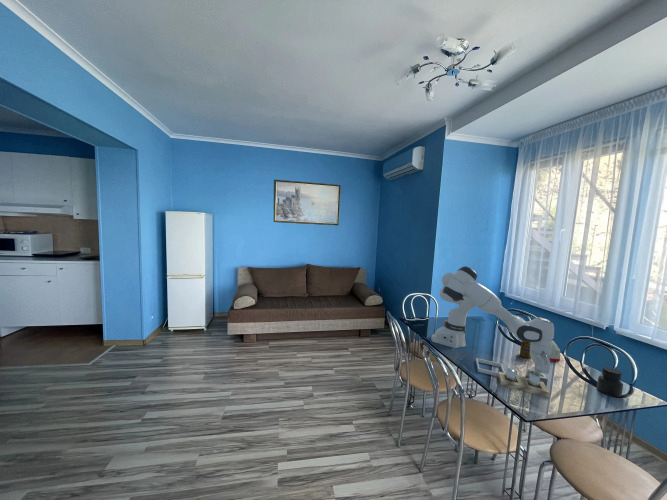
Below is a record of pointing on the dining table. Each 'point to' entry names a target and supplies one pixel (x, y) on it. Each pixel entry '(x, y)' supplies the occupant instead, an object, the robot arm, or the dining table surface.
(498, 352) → the dining table surface
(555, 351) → the white red dome
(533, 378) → the grey metal cylinder
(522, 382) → the frame
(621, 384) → the ink bottle
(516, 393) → the dining table surface
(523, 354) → the condiment
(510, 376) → the silver domed cylinder
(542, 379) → the button housing
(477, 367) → the white square tray
